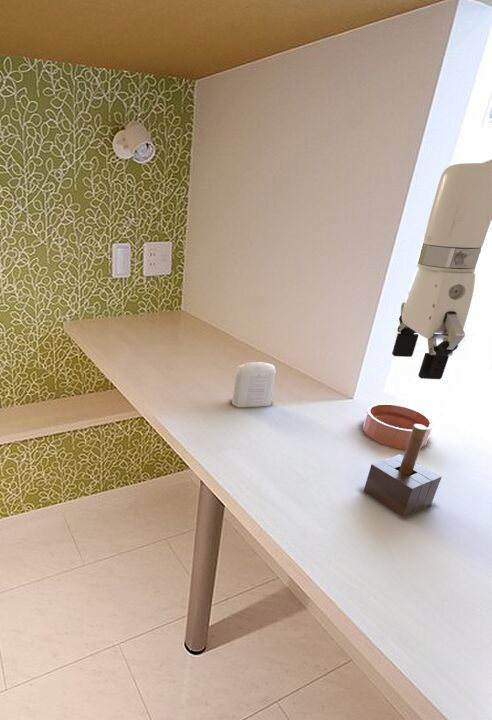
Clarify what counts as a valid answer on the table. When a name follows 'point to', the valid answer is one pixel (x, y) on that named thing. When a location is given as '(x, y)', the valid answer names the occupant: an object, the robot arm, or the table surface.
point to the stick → (413, 449)
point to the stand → (401, 486)
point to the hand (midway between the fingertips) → (414, 366)
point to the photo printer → (253, 384)
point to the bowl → (397, 416)
